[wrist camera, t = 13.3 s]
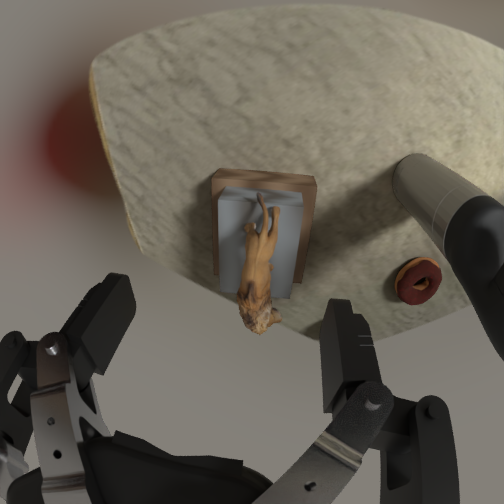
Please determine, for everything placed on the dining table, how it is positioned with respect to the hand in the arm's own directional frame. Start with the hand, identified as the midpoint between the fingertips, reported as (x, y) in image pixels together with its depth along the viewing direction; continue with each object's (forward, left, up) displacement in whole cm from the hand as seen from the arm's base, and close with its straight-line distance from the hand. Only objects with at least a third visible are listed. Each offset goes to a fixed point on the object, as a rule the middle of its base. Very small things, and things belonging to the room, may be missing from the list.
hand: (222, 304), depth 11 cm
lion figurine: (-1, +11, -22) cm, 25 cm away
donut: (-30, +20, -32) cm, 49 cm away
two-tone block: (0, +12, -32) cm, 34 cm away
